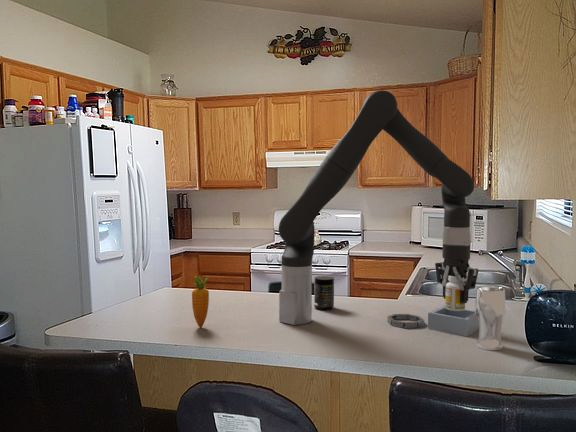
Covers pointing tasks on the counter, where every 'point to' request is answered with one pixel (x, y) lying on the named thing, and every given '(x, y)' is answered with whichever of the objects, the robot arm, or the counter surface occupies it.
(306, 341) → the counter surface
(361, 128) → the robot arm
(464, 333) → the bin
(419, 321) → the collar
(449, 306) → the supplement bottle
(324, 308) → the supplement container
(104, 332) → the counter surface
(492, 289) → the beer glass
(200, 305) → the carrot
